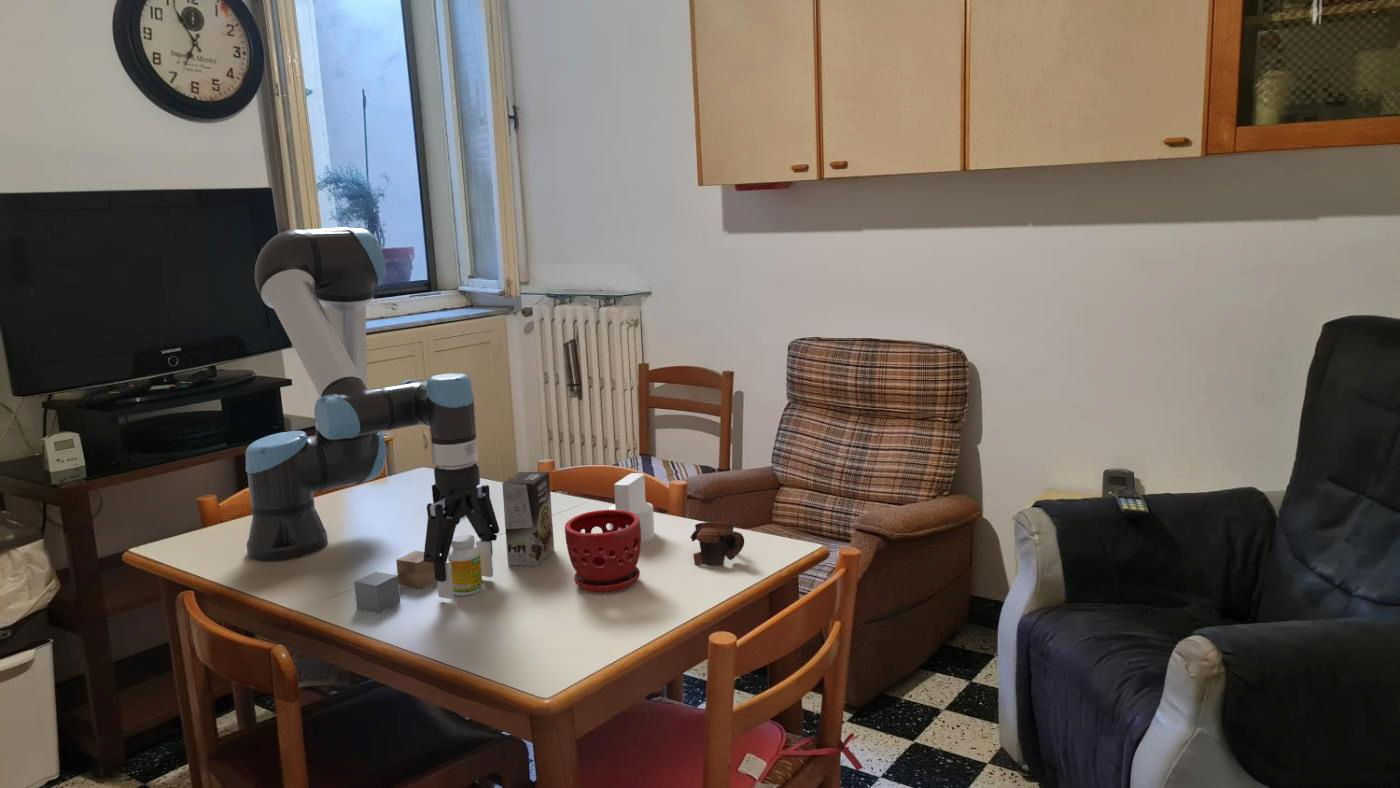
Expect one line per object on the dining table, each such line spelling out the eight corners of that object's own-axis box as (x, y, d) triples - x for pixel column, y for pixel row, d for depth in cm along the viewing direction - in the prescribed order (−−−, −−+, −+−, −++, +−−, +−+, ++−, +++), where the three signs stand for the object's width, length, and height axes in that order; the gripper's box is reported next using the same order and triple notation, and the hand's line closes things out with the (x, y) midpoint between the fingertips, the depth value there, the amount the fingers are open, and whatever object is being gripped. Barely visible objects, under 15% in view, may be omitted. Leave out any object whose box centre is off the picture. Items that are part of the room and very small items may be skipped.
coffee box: (539, 566, 180) (533, 483, 177) (506, 565, 181) (500, 483, 179) (555, 550, 189) (550, 470, 186) (525, 549, 190) (519, 470, 187)
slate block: (357, 609, 163) (354, 581, 162) (378, 598, 168) (375, 571, 167) (379, 613, 161) (376, 585, 160) (400, 602, 166) (397, 575, 165)
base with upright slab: (644, 544, 190) (641, 486, 188) (603, 541, 193) (599, 483, 191) (660, 530, 199) (658, 474, 196) (620, 527, 201) (617, 472, 199)
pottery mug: (678, 566, 179) (680, 523, 182) (709, 574, 186) (711, 532, 189) (730, 561, 172) (731, 515, 175) (760, 569, 179) (761, 525, 182)
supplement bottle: (478, 595, 167) (474, 542, 165) (447, 596, 167) (442, 543, 165) (485, 584, 172) (481, 532, 171) (455, 585, 172) (451, 533, 171)
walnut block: (398, 586, 173) (396, 559, 172) (418, 576, 178) (415, 550, 177) (420, 589, 171) (417, 562, 170) (439, 579, 176) (436, 553, 175)
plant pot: (575, 572, 176) (571, 509, 174) (646, 570, 176) (643, 507, 174) (562, 600, 164) (558, 533, 162) (639, 598, 163) (636, 531, 161)
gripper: (427, 482, 154) (439, 613, 158) (513, 450, 174) (522, 567, 178) (392, 479, 157) (405, 607, 161) (480, 447, 177) (489, 562, 181)
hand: (466, 586), depth 170 cm, fingers open, 10 cm apart
